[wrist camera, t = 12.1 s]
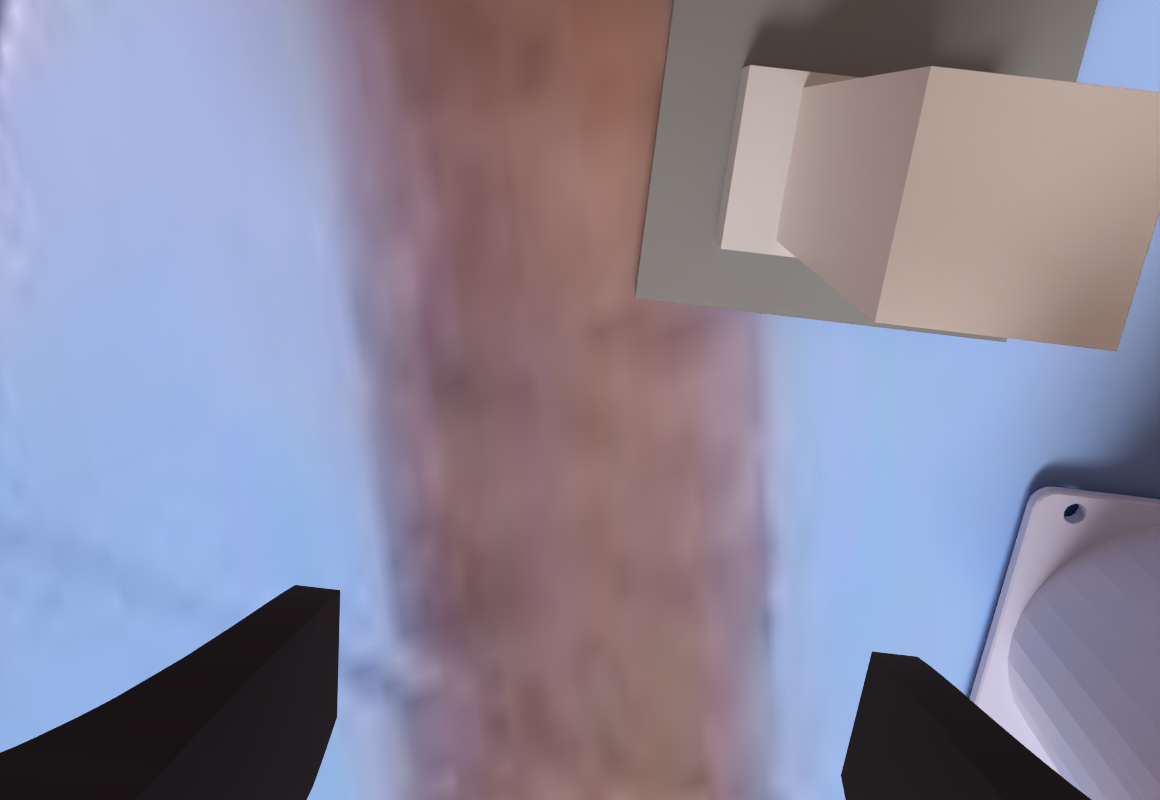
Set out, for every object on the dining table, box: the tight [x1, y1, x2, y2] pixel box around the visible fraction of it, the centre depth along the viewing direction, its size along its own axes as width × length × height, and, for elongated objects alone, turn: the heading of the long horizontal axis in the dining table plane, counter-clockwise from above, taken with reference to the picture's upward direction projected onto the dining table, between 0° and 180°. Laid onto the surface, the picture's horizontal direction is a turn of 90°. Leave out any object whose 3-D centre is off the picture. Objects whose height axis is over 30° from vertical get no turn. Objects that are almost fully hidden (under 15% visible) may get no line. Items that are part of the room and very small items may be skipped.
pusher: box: [715, 65, 1160, 351], centre depth 15 cm, size 5×4×9 cm
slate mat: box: [635, 0, 1098, 342], centre depth 19 cm, size 8×9×1 cm
